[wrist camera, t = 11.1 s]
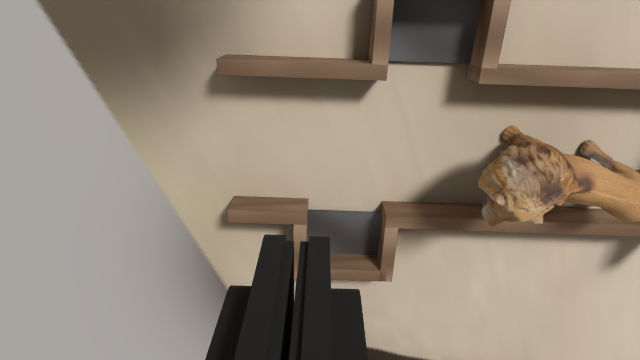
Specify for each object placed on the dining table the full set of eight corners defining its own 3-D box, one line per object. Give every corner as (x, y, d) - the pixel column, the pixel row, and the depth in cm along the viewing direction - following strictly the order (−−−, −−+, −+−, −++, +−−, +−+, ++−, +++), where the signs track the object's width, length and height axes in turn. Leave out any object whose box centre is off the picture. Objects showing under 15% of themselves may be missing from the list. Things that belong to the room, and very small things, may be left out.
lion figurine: (444, 184, 31) (486, 246, 23) (459, 118, 29) (511, 161, 21) (627, 197, 32) (733, 264, 23) (654, 133, 30) (781, 182, 21)
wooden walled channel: (220, -26, 26) (197, -33, 21) (761, -8, 26) (855, -11, 21) (238, 258, 34) (224, 296, 30) (640, 272, 34) (688, 313, 30)
